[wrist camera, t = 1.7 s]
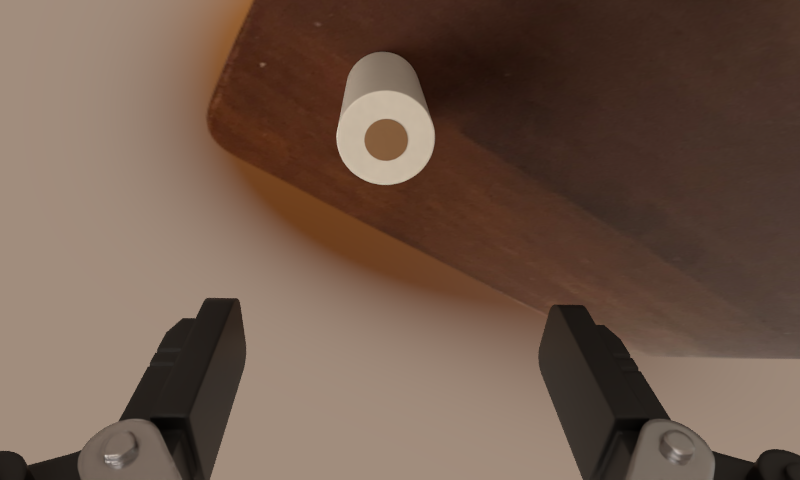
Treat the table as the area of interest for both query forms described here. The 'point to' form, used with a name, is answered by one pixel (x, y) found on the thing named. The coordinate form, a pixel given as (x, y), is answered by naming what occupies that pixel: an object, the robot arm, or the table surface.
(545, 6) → the table surface
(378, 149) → the paper roll
